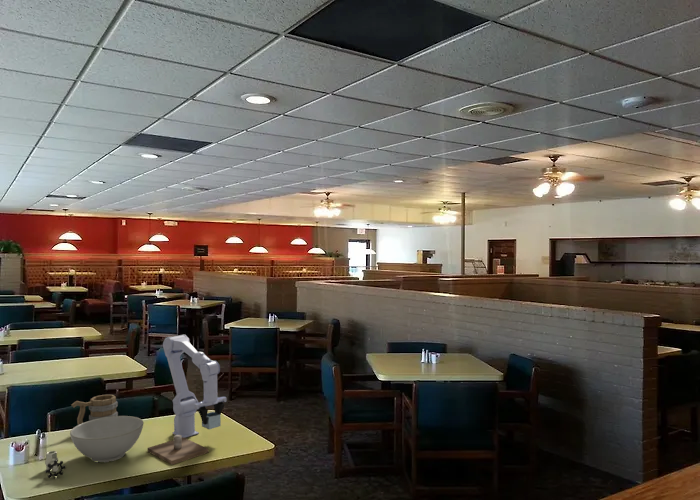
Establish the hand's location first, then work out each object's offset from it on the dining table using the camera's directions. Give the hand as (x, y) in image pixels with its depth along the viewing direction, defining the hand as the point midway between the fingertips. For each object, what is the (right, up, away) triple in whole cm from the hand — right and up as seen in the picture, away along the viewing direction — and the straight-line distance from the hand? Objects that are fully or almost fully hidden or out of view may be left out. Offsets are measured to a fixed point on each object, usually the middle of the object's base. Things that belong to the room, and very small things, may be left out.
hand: (210, 422), depth 228 cm
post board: (-11, -9, -10) cm, 17 cm away
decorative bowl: (-38, -10, -14) cm, 41 cm away
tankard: (-58, -10, +18) cm, 62 cm away
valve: (-51, -10, -29) cm, 60 cm away
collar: (0, -2, 0) cm, 2 cm away
